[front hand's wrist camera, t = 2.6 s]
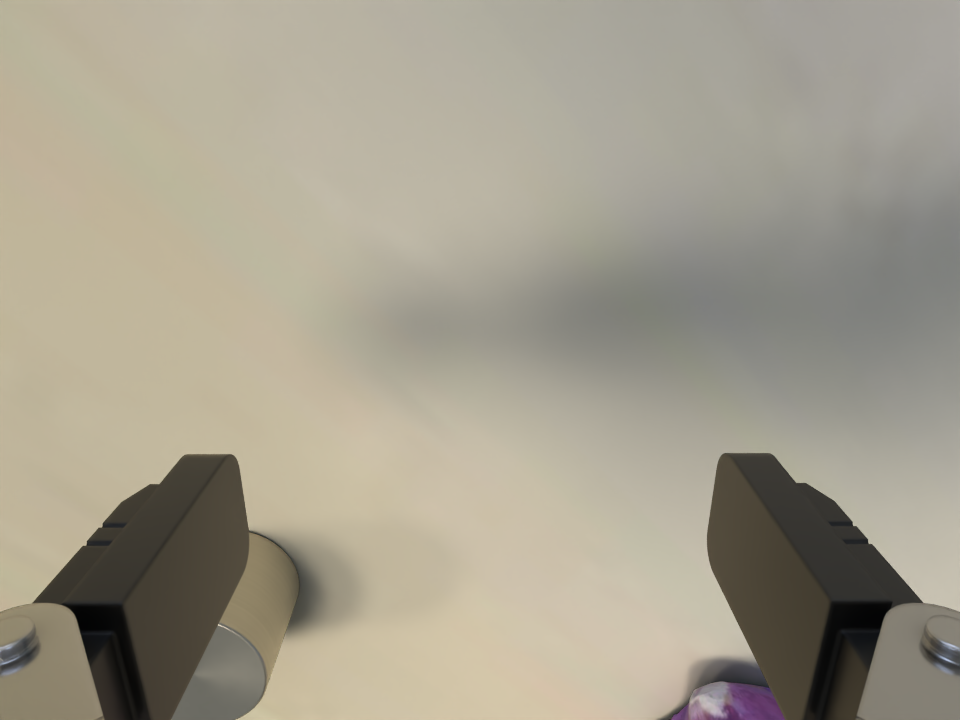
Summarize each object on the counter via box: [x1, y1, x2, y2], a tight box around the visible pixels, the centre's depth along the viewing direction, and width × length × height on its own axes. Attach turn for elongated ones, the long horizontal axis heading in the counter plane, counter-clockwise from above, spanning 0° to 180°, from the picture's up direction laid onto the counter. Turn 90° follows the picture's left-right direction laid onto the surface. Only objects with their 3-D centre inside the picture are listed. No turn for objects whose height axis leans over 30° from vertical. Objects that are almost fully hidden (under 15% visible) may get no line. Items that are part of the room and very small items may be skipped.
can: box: [171, 532, 299, 720], centre depth 24 cm, size 5×5×4 cm
